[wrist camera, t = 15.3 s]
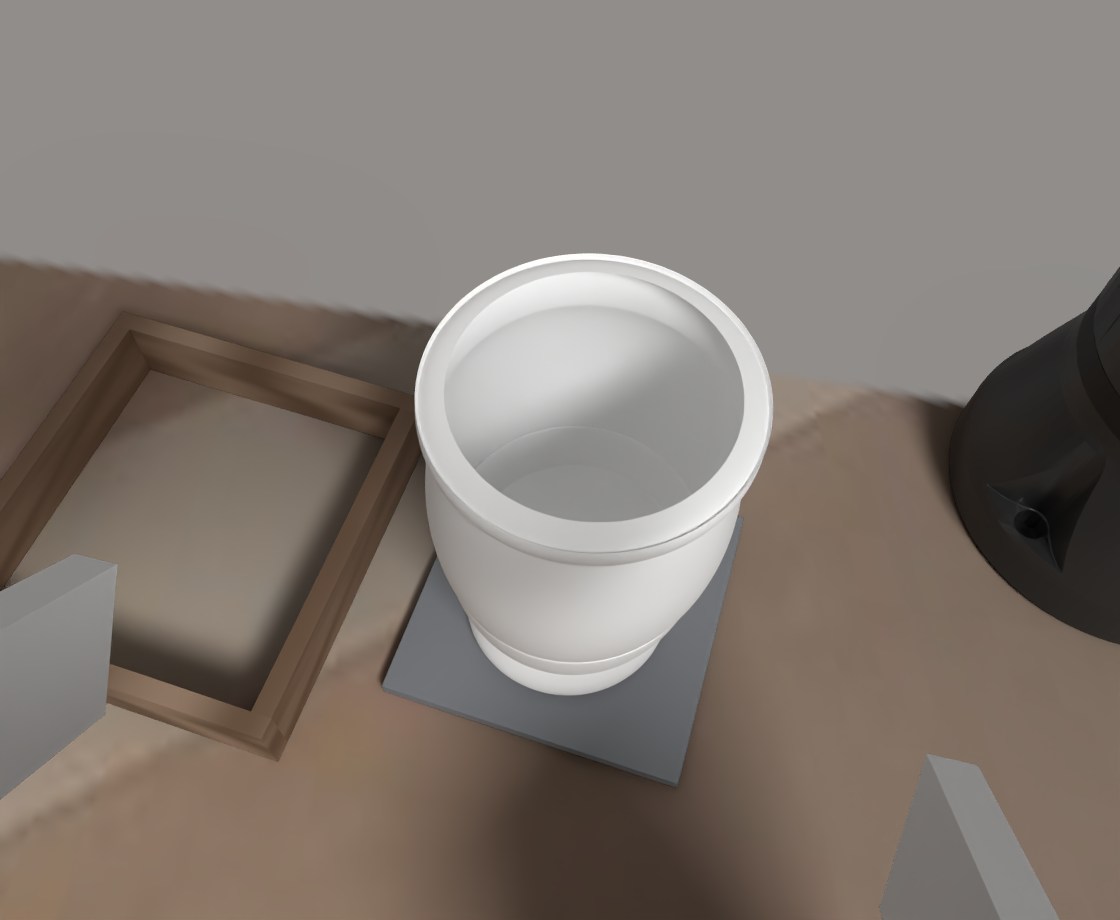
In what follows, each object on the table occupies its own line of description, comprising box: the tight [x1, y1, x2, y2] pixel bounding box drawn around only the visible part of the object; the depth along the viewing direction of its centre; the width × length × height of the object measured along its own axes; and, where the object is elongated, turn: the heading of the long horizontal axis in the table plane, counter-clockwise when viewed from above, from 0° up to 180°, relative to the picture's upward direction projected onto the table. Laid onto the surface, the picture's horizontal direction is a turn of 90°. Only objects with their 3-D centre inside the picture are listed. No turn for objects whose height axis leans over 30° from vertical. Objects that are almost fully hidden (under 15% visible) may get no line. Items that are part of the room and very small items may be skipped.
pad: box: [382, 516, 744, 788], centre depth 41 cm, size 12×12×1 cm
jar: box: [415, 254, 773, 695], centre depth 35 cm, size 11×10×15 cm
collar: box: [0, 312, 422, 762], centre depth 41 cm, size 15×16×3 cm
